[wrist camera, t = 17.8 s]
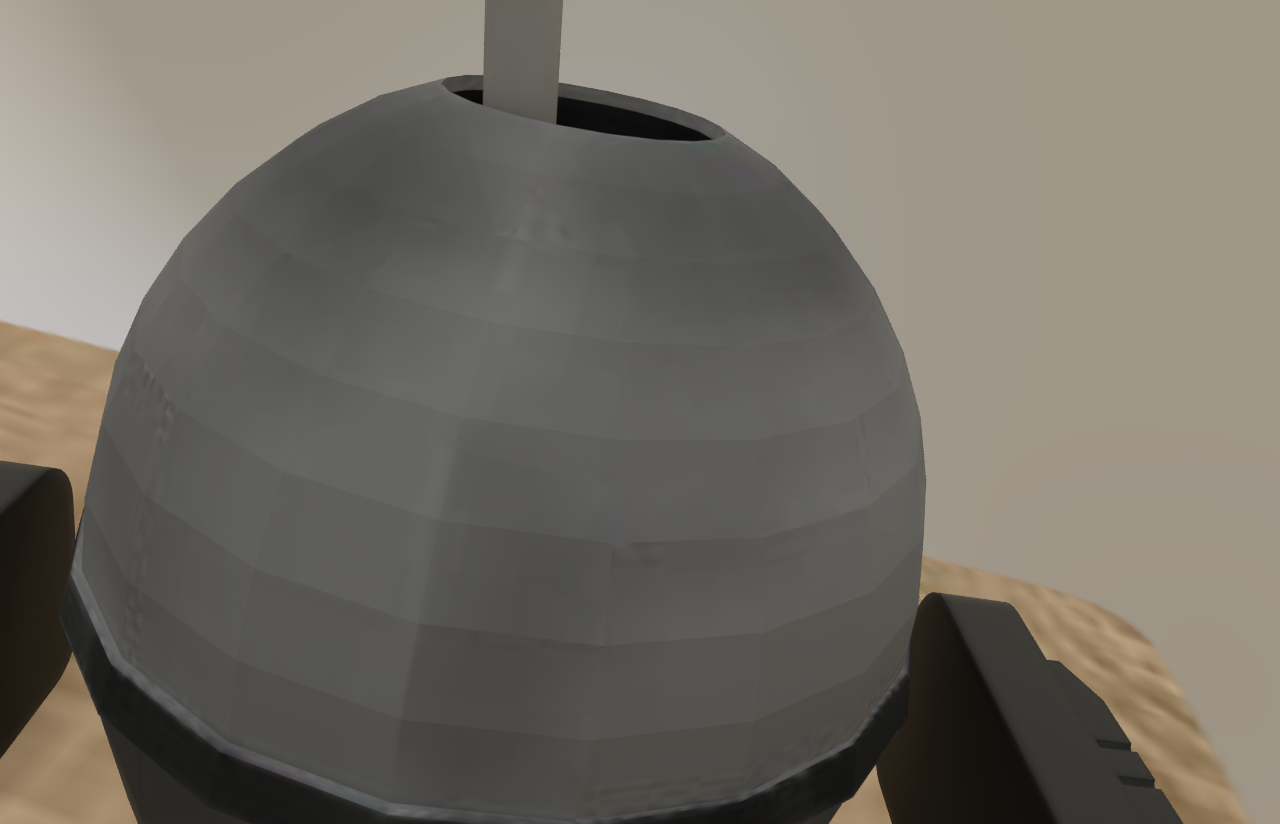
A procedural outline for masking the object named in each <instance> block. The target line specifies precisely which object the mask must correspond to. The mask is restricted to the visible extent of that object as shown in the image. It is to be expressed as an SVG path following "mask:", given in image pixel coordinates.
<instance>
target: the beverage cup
mask: <svg viewBox="0 0 1280 824" xmlns="http://www.w3.org/2000/svg"><path fill="white" fill-rule="evenodd" d="M562 6H563V0H485V33H484V75H463V76H456V77H449V78H445V79H441V80H437V81H433V82H429V83H425V84H422V85H418V86H414V87H410V88H407V89H403V90H399V91H395V92H391V93H387V94H383V95H380V96H378V97H376V98H374V99H372V100H370V101H367V102H365V103H363V104H361V105H359V106H357V107H355V108H353V109H351V110H348V111H346V112H344V113H342V114H340V115H338V116H336V117H334V118H332V119H330V120H328V121H325V122H323V123H321V124H319V125H318V126H317V127H315V128H313V129H312V130H310V131H309V132H307V133H306V134H304V135H303V136H301V137H300V138H298V139H297V140H295V141H294V142H293V143H291V144H290V145H289V146H287V147H286V148H284V149H283V150H282V151H280V152H279V153H277V154H276V155H275V156H273V157H272V158H271V159H269V160H268V161H267V162H265V163H264V164H262V165H261V166H260V167H258V168H257V169H256V170H254V171H253V172H251V173H250V174H249V175H247V176H246V177H245V178H243V179H242V180H240V181H239V182H238V183H236V184H235V185H234V186H233V187H232V188H231V189H230V190H229V191H228V193H227V194H226V195H225V196H224V197H223V198H222V199H221V200H220V201H219V202H218V203H217V204H216V205H215V206H214V207H213V208H212V209H211V210H210V211H209V213H207V214H206V215H205V216H204V217H203V218H202V220H201V221H200V222H199V223H198V224H197V225H196V226H195V227H194V228H193V229H192V230H191V231H190V232H189V233H188V234H187V235H186V236H185V237H184V238H183V240H182V241H181V243H180V245H179V246H178V247H177V249H176V250H175V252H174V253H173V255H172V256H171V258H170V259H169V261H168V262H167V264H166V265H165V267H164V268H163V270H162V271H161V273H160V274H159V276H158V277H157V279H156V280H155V282H154V283H153V285H152V286H151V288H150V289H149V291H148V292H147V294H146V295H145V297H144V298H143V300H142V303H141V305H140V307H139V310H138V312H137V314H136V317H135V319H134V321H133V323H132V326H131V328H130V330H129V332H128V335H127V337H126V339H125V342H124V344H123V346H122V348H121V351H120V353H119V355H118V358H117V360H116V362H115V366H114V370H113V375H112V379H111V383H110V388H109V392H108V396H107V400H106V405H105V409H104V413H103V417H102V422H101V426H100V430H99V435H98V440H97V444H96V449H95V454H94V458H93V463H92V467H91V472H90V477H89V481H88V486H87V490H86V495H85V505H84V509H83V513H82V517H81V520H80V524H79V528H78V532H77V536H76V540H75V545H74V550H73V554H72V559H71V564H70V568H69V573H68V577H67V582H66V587H65V591H64V596H63V600H62V605H61V610H60V614H59V619H60V621H61V624H62V626H63V629H64V631H65V634H66V636H67V639H68V641H69V643H70V646H71V648H72V651H73V653H74V656H75V658H76V661H77V663H78V666H79V668H80V670H81V673H82V675H83V678H84V680H85V683H86V685H87V688H88V690H89V693H90V695H91V698H92V700H93V702H94V705H95V707H96V710H97V712H98V714H99V715H100V717H101V720H102V723H103V726H104V729H105V732H106V735H107V738H108V741H109V744H110V747H111V750H112V753H113V756H114V758H115V761H116V764H117V767H118V770H119V773H120V776H121V779H122V782H123V785H124V788H125V791H126V794H127V797H128V800H129V802H130V805H131V807H132V810H133V812H134V815H135V817H136V820H137V822H138V824H829V822H830V821H831V819H832V818H833V816H834V815H835V813H836V812H837V810H838V809H839V807H840V806H841V804H842V803H843V802H845V801H847V800H849V799H851V798H852V797H853V796H854V795H855V794H856V792H857V791H858V789H859V788H860V786H861V785H862V783H863V782H864V781H865V779H866V778H867V776H868V775H869V773H870V772H871V770H872V769H873V768H874V766H875V765H876V763H877V762H878V760H879V759H880V758H881V756H882V755H883V753H884V752H885V750H886V749H887V747H888V746H889V745H890V743H891V742H892V740H893V739H894V737H895V736H896V734H897V733H898V732H899V730H900V729H901V727H902V726H903V724H904V723H905V721H906V720H907V719H908V703H909V686H910V668H911V650H912V631H913V625H914V621H915V617H916V613H917V609H918V601H919V588H920V576H921V563H922V550H923V538H924V537H923V536H924V515H925V493H926V475H925V462H924V451H923V440H922V429H921V418H920V414H919V409H918V406H917V402H916V398H915V394H914V390H913V387H912V383H911V380H910V375H909V372H908V368H907V364H906V360H905V356H904V352H903V350H902V348H901V346H900V344H899V341H898V339H897V337H896V335H895V332H894V331H893V328H892V326H891V324H890V322H889V319H888V317H887V315H886V313H885V311H884V308H883V306H882V304H881V302H880V299H879V297H878V295H877V293H876V291H875V289H874V287H873V286H872V284H871V283H870V281H869V280H868V278H867V277H866V275H865V274H864V272H863V271H862V270H861V268H860V266H859V265H858V264H857V262H856V261H855V259H854V258H853V256H852V255H851V253H850V252H849V250H848V249H847V247H846V246H845V244H844V243H843V242H842V240H841V239H840V237H839V235H838V234H837V233H836V231H835V230H834V229H833V227H832V226H831V225H830V224H829V222H828V221H827V220H826V219H825V217H824V216H823V215H822V214H821V213H820V212H819V210H818V209H817V208H816V207H815V206H814V205H813V204H812V203H811V202H810V201H809V200H808V199H807V198H806V197H805V196H804V195H803V194H802V193H801V192H800V191H799V190H798V188H797V187H796V186H795V185H793V184H792V182H791V181H790V180H789V179H788V178H787V177H786V176H785V175H784V174H783V173H782V172H781V171H780V170H779V169H778V168H777V167H776V166H775V165H774V164H772V163H771V162H770V161H768V160H767V159H765V158H764V157H763V156H761V155H760V154H758V153H757V152H756V151H754V150H752V149H751V148H750V147H749V146H747V145H746V144H744V143H743V142H741V141H740V140H739V139H737V138H736V137H734V136H733V135H731V134H730V133H729V132H727V131H726V130H725V129H723V128H722V127H720V126H718V125H716V124H714V123H712V122H710V121H708V120H706V119H705V118H702V117H699V116H697V115H694V114H691V113H688V112H685V111H683V110H679V109H677V108H673V107H669V106H666V105H662V104H659V103H655V102H651V101H648V100H644V99H640V98H635V97H631V96H626V95H622V94H617V93H613V92H609V91H603V90H598V89H593V88H587V87H581V86H575V85H570V84H564V83H558V81H559V61H560V44H561V26H562V8H563V7H562Z"/></svg>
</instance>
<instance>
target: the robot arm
mask: <svg viewBox="0 0 1280 824" xmlns="http://www.w3.org/2000/svg"><path fill="white" fill-rule="evenodd" d="M74 545H75V524H74V507H73V493H72V487H71V483H70V481H69V478H68V476H67V475H66V474H65V472H63V471H62V470H60V469H57V468H50V467H42V466H35V465H28V464H21V463H14V462H6V461H0V759H1V757H2V756H3V755H4V753H5V752H6V751H7V749H8V748H9V747H10V745H11V744H12V743H13V741H14V740H15V739H16V737H17V736H18V735H19V733H20V732H21V731H22V729H23V728H24V727H25V725H26V724H27V723H28V721H29V720H30V719H31V717H32V716H33V715H34V713H35V712H36V711H37V709H38V708H39V707H40V705H41V704H42V703H43V701H44V700H45V699H46V697H47V696H48V695H49V693H50V692H51V691H52V689H53V688H54V687H55V685H56V684H57V682H58V681H59V679H60V678H61V676H62V674H63V672H64V671H65V669H66V666H67V664H68V662H69V659H70V657H71V654H72V648H71V646H70V643H69V641H68V639H67V636H66V634H65V631H64V629H63V626H62V624H61V621H60V619H59V614H60V610H61V605H62V600H63V596H64V591H65V587H66V582H67V577H68V573H69V568H70V564H71V559H72V554H73V550H74ZM876 769H877V775H878V780H879V784H880V787H881V790H882V794H883V797H884V800H885V803H886V806H887V809H888V812H889V815H890V819H891V822H892V824H1183V822H1182V821H1181V819H1180V818H1179V816H1178V815H1177V813H1176V811H1175V810H1174V808H1173V807H1172V805H1171V804H1170V802H1169V801H1168V799H1167V798H1166V796H1165V795H1164V793H1163V792H1162V790H1161V789H1155V786H1154V782H1155V779H1154V778H1153V776H1152V775H1151V773H1150V772H1149V770H1148V768H1147V767H1146V765H1145V764H1144V762H1143V761H1142V759H1141V758H1140V756H1139V755H1138V753H1137V752H1131V742H1130V741H1129V739H1128V738H1127V736H1126V735H1125V733H1124V732H1123V730H1122V728H1121V727H1120V725H1119V724H1118V722H1117V721H1116V719H1115V718H1114V716H1113V715H1112V713H1111V712H1110V710H1109V708H1108V707H1107V705H1106V704H1105V702H1104V701H1103V700H1102V699H1101V698H1100V697H1099V696H1098V695H1097V694H1095V693H1094V692H1093V691H1092V690H1091V689H1090V688H1089V687H1087V686H1086V685H1085V684H1084V683H1083V682H1082V681H1081V680H1080V679H1078V678H1077V677H1076V676H1075V675H1074V674H1073V673H1072V672H1071V671H1069V670H1068V669H1067V668H1066V667H1065V666H1064V665H1063V664H1062V663H1060V662H1059V661H1053V660H1046V658H1045V656H1044V655H1043V653H1042V651H1041V650H1040V648H1039V646H1038V645H1037V643H1036V641H1035V640H1034V638H1033V637H1032V635H1031V633H1030V632H1029V630H1028V628H1027V627H1026V625H1025V623H1024V622H1023V620H1022V618H1021V617H1020V615H1019V614H1018V612H1017V611H1016V609H1015V608H1014V607H1013V606H1012V605H1011V604H1009V603H1007V602H1001V601H994V600H987V599H979V598H972V597H965V596H958V595H951V594H943V593H936V592H932V593H930V594H928V595H927V596H926V597H924V599H923V600H922V601H921V603H920V605H919V607H918V609H917V613H916V617H915V621H914V625H913V631H912V650H911V668H910V686H909V703H908V719H907V720H906V721H905V723H904V724H903V726H902V727H901V729H900V730H899V732H898V733H897V734H896V736H895V737H894V739H893V740H892V742H891V743H890V745H889V746H888V747H887V749H886V750H885V752H884V753H883V755H882V756H881V758H880V759H879V760H878V762H877V763H876Z"/></svg>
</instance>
